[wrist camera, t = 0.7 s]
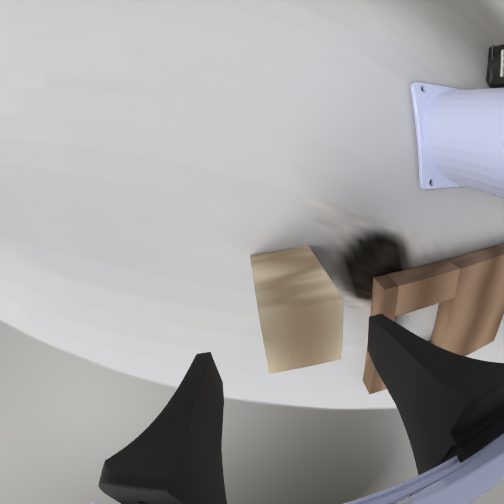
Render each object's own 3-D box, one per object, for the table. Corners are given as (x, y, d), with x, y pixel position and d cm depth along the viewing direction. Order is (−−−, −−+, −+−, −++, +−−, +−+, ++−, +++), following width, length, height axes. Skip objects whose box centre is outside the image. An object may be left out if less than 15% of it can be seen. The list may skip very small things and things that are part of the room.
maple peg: (308, 245, 19) (343, 298, 13) (311, 295, 21) (341, 358, 14) (250, 255, 19) (258, 314, 13) (258, 305, 21) (269, 373, 14)
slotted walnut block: (507, 241, 21) (519, 248, 19) (485, 331, 25) (493, 340, 23) (373, 277, 21) (384, 289, 19) (363, 380, 25) (369, 394, 23)
